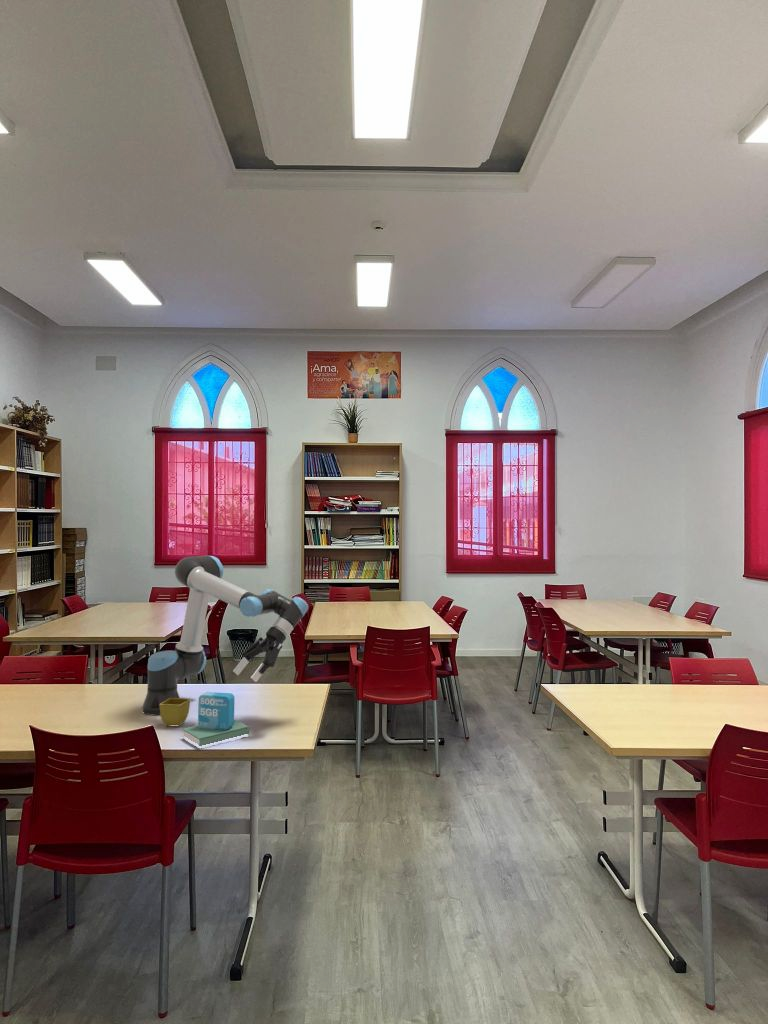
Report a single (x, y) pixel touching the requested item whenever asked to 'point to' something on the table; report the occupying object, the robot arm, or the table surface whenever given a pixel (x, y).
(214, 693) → the data package
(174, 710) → the flower pot
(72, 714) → the table surface
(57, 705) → the table surface
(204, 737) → the green book
